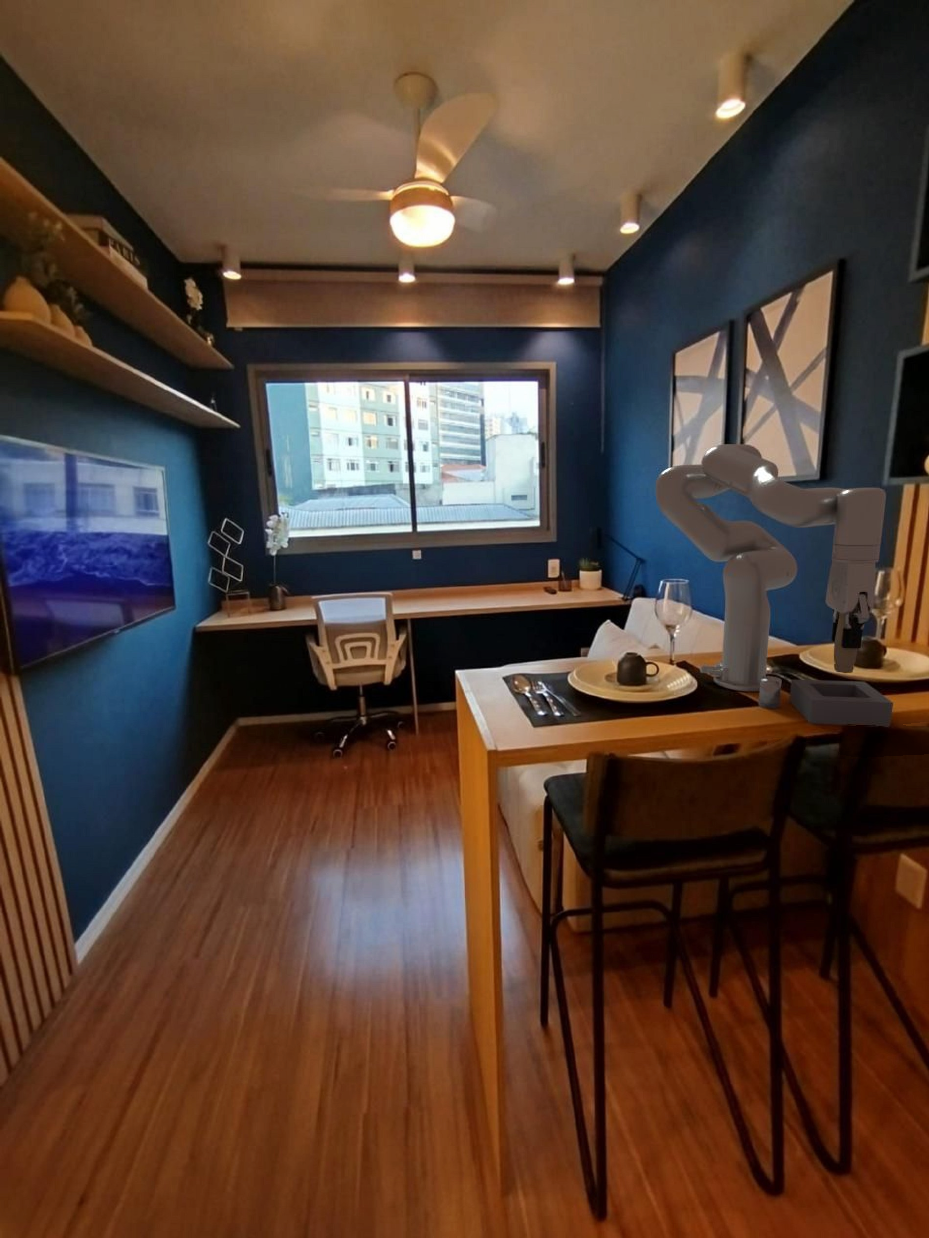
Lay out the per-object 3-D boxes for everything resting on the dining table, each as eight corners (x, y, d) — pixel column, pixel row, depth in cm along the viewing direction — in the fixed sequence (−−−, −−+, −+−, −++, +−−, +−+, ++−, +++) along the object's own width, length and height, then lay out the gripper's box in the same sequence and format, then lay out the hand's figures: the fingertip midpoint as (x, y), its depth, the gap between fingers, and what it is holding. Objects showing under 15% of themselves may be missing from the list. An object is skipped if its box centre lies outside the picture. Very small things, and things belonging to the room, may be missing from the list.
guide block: (809, 723, 112) (812, 699, 111) (789, 701, 124) (791, 679, 123) (889, 726, 109) (893, 702, 108) (861, 703, 121) (864, 681, 119)
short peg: (761, 708, 120) (763, 682, 119) (756, 701, 124) (758, 675, 123) (781, 709, 120) (784, 682, 118) (776, 702, 123) (778, 676, 122)
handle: (841, 665, 118) (848, 595, 114) (867, 675, 111) (875, 600, 108) (820, 667, 117) (827, 596, 114) (845, 677, 111) (853, 602, 107)
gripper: (817, 549, 118) (809, 634, 122) (852, 559, 102) (842, 656, 106) (857, 548, 116) (848, 634, 120) (900, 558, 100) (887, 657, 104)
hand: (845, 643), depth 113 cm, fingers closed on handle, 4 cm apart
